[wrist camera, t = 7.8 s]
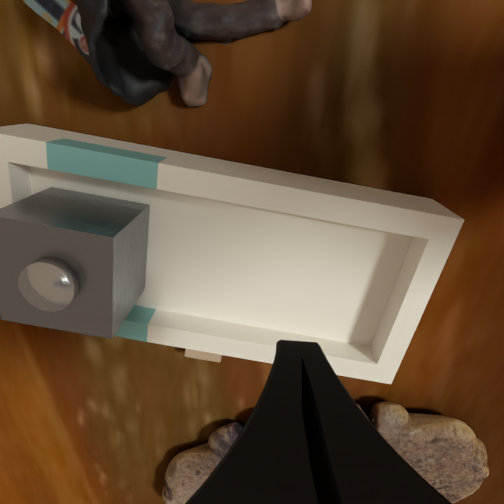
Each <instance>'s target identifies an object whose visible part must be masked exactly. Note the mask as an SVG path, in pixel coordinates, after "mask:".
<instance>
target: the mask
mask: <svg viewBox="0 0 504 504" xmlns="http://www.w3.org/2000/svg"><path fill="white" fill-rule="evenodd" d="M357 405H358V404H357ZM358 407H359V408H360V409H361V411H362V412H363V410H362V408H361V407H360V405H358ZM363 413H364V412H363ZM364 415H365V413H364ZM365 416H366V415H365ZM366 417H367V419H368V420H369V421H370V422H371V423H372V425H373V426H374V427H375V428H376V430H377V431H378V432H379V433H380V434H381V435H382V436H383V438H384V439H385V440H386V441H387V442H388V443H389V444H390V445H391V446H392V447H393V448H394V450H395V451H396V452H397V453H398V454H399V455H400V456H401V457H402V458H403V459H404V460H405V461H406V462H407V463H408V464H409V465H410V466H411V467H412V468H413V469H414V470H416V471H417V472H418V473H419V474H420V475H421V476H422V477H423V478H424V479H425V480H426V481H427V482H428V483H429V484H430V485H431V486H433V487H434V488H435V489H436V490H437V491H438V492H439V493H441V494H442V495H443V496H444V497H445V498H446V499H448V500H449V501H450V502H451V503H455V502H457V501H459V500H461V499H463V498H466V497H467V496H469V495H471V494H473V493H474V492H475V491H476V490H477V489H478V488H479V487H480V485H481V483H482V481H483V480H484V479H485V478H486V477H487V476H488V475H489V468H488V466H487V453H486V449H485V447H484V444H483V443H482V442H481V441H480V440H479V439H478V438H476V436H475V434H474V432H473V431H472V430H471V428H470V427H469V426H468V425H466V424H465V423H464V422H462V421H460V420H458V419H455V418H452V417H449V416H442V415H431V414H420V413H408V412H407V411H406V409H405V408H403V407H402V406H400V405H399V404H396V403H394V402H389V401H385V402H378V403H377V404H375V405H374V406H373V407H372V410H371V412H370V415H368V416H366ZM243 427H244V425H242V424H240V423H237V422H231V423H229V424H227V425H224V426H221V427H219V428H217V429H215V430H214V431H213V432H212V434H211V435H210V437H209V441H208V443H205V444H202V445H200V446H197V447H193V448H190V449H187V450H184V451H182V452H180V453H178V454H177V455H176V456H175V457H174V458H173V459H172V460H171V462H170V463H169V465H168V468H167V470H166V474H165V478H164V484H165V485H164V487H163V491H162V495H163V499H164V501H165V503H166V504H185V503H186V502H187V501H188V500H189V499H190V498H191V496H192V495H193V494H194V493H195V492H196V491H197V490H198V489H199V488H200V486H201V485H202V484H203V483H204V482H205V480H206V479H207V478H208V477H209V475H210V474H211V473H212V472H213V470H214V469H215V468H216V466H217V465H218V464H219V462H220V461H221V460H222V459H223V457H224V456H225V455H226V453H227V452H228V450H229V449H230V447H231V446H232V445H233V443H234V441H235V440H236V438H237V437H238V435H239V434H240V432H241V431H242V429H243Z"/></svg>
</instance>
